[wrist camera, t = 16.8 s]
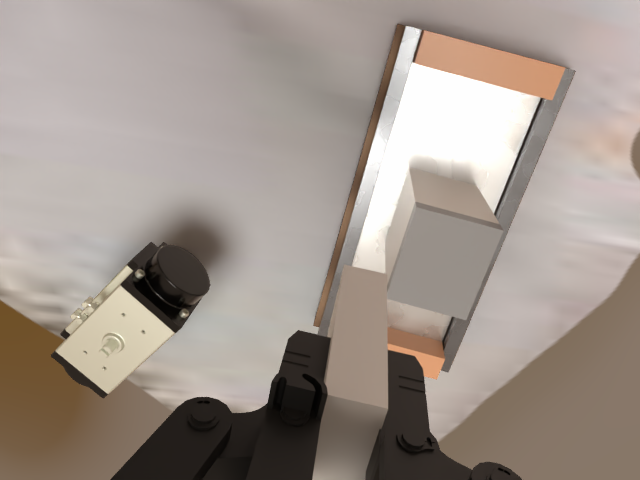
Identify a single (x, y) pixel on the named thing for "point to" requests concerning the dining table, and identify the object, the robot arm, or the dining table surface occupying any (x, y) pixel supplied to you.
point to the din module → (439, 244)
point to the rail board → (443, 161)
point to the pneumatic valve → (132, 317)
